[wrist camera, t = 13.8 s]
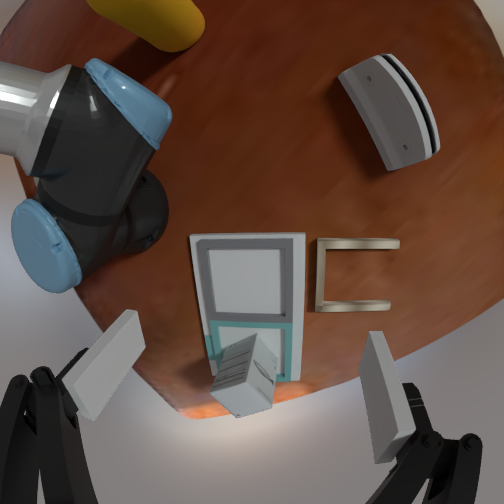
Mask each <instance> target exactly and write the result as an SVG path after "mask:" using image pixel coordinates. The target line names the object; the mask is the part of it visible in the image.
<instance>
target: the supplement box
mask: <svg viewBox="0 0 504 504" xmlns="http://www.w3.org/2000/svg"><path fill="white" fill-rule="evenodd" d="M277 365H278V358H277V357H276V356H275V355H274V354H273V352H272V351H271V350H270V349H269V348H268V346H267V345H266V344H265V343H264V341H263V340H262V339H261V337H260V336H259V335H258V333H257V334H254V335H252V336H250V337H248V338H245V339H243V340H241V341H239V342H237V343H234V344H232V345H230V346H228V347H227V348H226V351H225V353H224V356H223V358H222V361H221V364H220V366H219V369H218V372H217V375H216V377H215V380H214V383H213V385H212V388H211V390H210V395H212V396H213V397H214V398H215V399H216V400H217V401H218V402H219V403H220V404H221V405H222V406H223V407H224V408H226V409H227V410H228V411H229V412H230V413H231V414H232V415H234V416H235V417H236V418H240V417H244V416H247V415H251V414H254V413H258V412H261V411H264V410H268V409H271V408H272V404H273V396H274V389H275V381H276V373H277Z"/></svg>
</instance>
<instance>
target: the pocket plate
mask: <svg viewBox="0 0 504 504" xmlns="http://www.w3.org/2000/svg"><path fill="white" fill-rule="evenodd" d="M190 244H191V252H192V259H193V267H194V274H195V281H196V287H197V294H198V300H199V306H200V312H201V318H202V324H203V330H204V335H205V342H206V347H207V352H208V357H209V362H210V367H211V372H212V375H213V376H216V375H217V372H218V369H219V366H220V364H221V361H222V358H223V356H224V353H225V351H226V348H227V347H228V346H230V345H232V344H234V343H237V342H239V341H241V340H243V339H245V338H248V337H250V336H252V335H254V334H257V333H258V335H259V336H260V337H261V339H262V340H263V341H264V343H265V344H266V345H267V346H268V348H269V349H270V350H271V351H272V352H273V354H274V355H275V356H276V357H277V358H278V365H277V373H276V381H277V382H291V380H300V370H301V355H302V338H303V316H304V287H305V232H290V233H215V234H191V235H190Z"/></svg>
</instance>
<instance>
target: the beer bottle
mask: <svg viewBox="0 0 504 504" xmlns="http://www.w3.org/2000/svg"><path fill="white" fill-rule="evenodd" d="M86 1H87V3H88V4H89V5H90V7H91V8H92V9H93V10H94V11H96V12H97V13H98V14H100V15H102V16H104V17H106V18H108V19H110V20H112V21H114V22H115V23H117V24H119V25H121V26H122V27H124V28H126V29H128V30H129V31H131V32H133V33H134V34H136V35H138V36H139V37H141V38H143V39H144V40H146V41H148V42H149V43H151V44H152V45H153V46H155V47H156V48H158V49H160V50H162V51H165V52H178V51H182V50H185V49H187V48H189V47H191V46H192V45H193V44H195V43H196V42H197V41H198V40H199V38H200V37H201V35H202V34H203V31H204V28H205V20H204V17H203V15H202V13H201V12H200V10H199V9H198V8H197V7H196V6H195V5H194V4H193V3H192V1H191V0H86Z"/></svg>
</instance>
